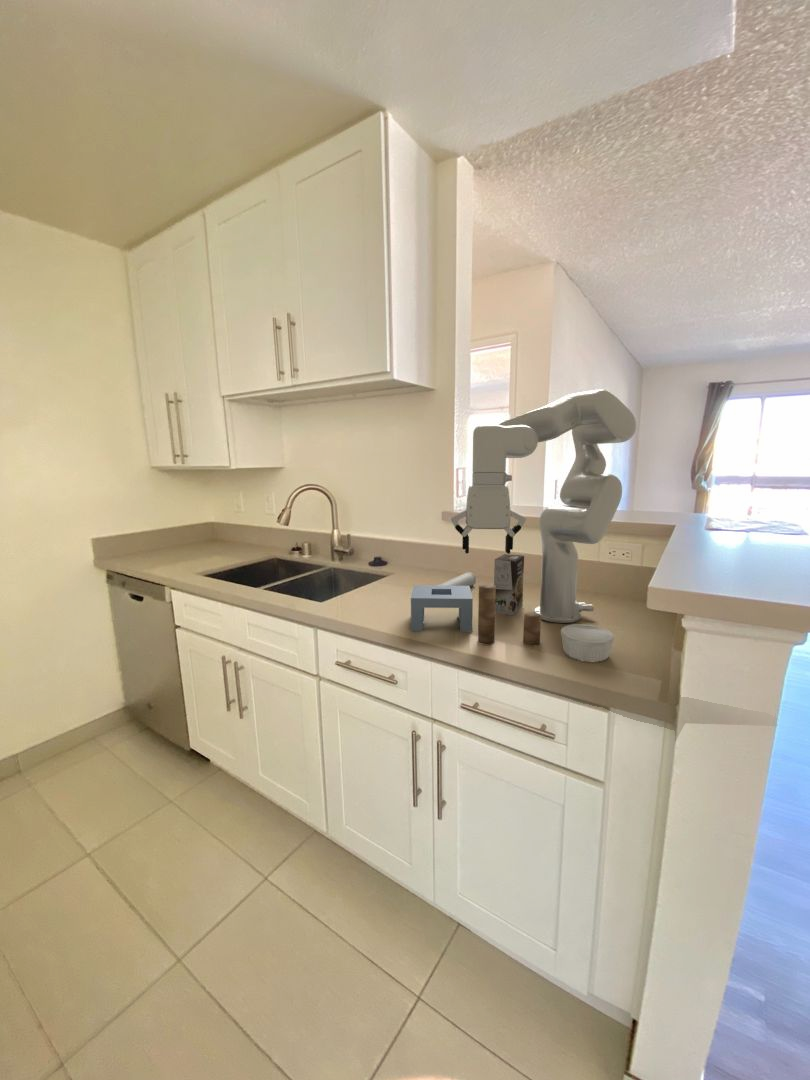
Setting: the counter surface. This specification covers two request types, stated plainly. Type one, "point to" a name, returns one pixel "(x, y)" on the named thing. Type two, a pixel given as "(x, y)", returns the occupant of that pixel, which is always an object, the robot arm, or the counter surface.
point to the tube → (461, 580)
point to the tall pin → (486, 614)
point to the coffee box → (508, 583)
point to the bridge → (441, 603)
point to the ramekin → (586, 642)
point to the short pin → (532, 628)
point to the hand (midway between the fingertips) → (487, 552)
